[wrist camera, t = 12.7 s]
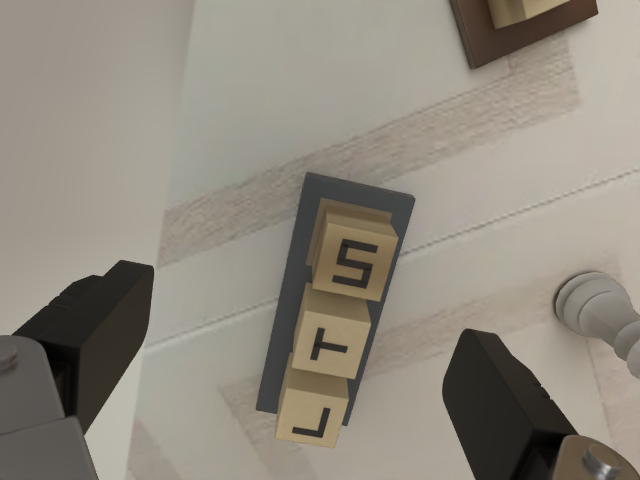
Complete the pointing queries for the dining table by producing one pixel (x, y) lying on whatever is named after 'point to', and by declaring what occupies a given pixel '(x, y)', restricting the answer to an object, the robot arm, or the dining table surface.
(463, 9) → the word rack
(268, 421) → the dining table surface
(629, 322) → the rook chess piece
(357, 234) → the letter S
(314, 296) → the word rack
